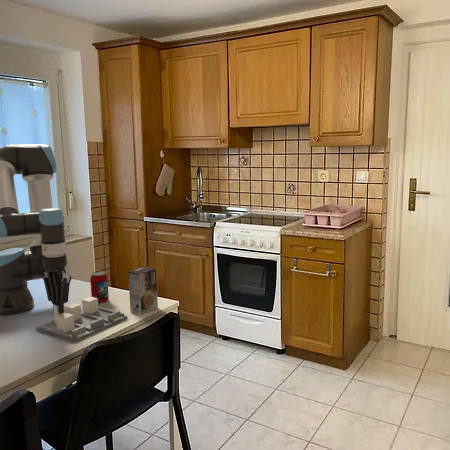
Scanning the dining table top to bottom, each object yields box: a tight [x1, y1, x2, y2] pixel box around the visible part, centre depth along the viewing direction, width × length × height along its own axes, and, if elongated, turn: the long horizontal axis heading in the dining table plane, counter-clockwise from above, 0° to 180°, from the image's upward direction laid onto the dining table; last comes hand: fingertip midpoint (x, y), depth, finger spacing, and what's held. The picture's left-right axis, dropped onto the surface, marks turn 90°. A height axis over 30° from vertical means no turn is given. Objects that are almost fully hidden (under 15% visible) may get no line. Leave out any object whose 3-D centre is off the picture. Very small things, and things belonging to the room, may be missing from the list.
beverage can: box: [89, 270, 110, 305], centre depth 183 cm, size 7×7×12 cm
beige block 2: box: [56, 312, 75, 333], centre depth 153 cm, size 4×4×5 cm
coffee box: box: [127, 265, 159, 316], centre depth 173 cm, size 9×6×16 cm
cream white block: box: [81, 296, 99, 314], centre depth 170 cm, size 4×4×5 cm
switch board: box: [35, 306, 128, 344], centre depth 161 cm, size 20×24×3 cm
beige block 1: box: [64, 302, 82, 321], centre depth 163 cm, size 4×4×5 cm
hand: (59, 321), depth 154 cm, fingers closed
